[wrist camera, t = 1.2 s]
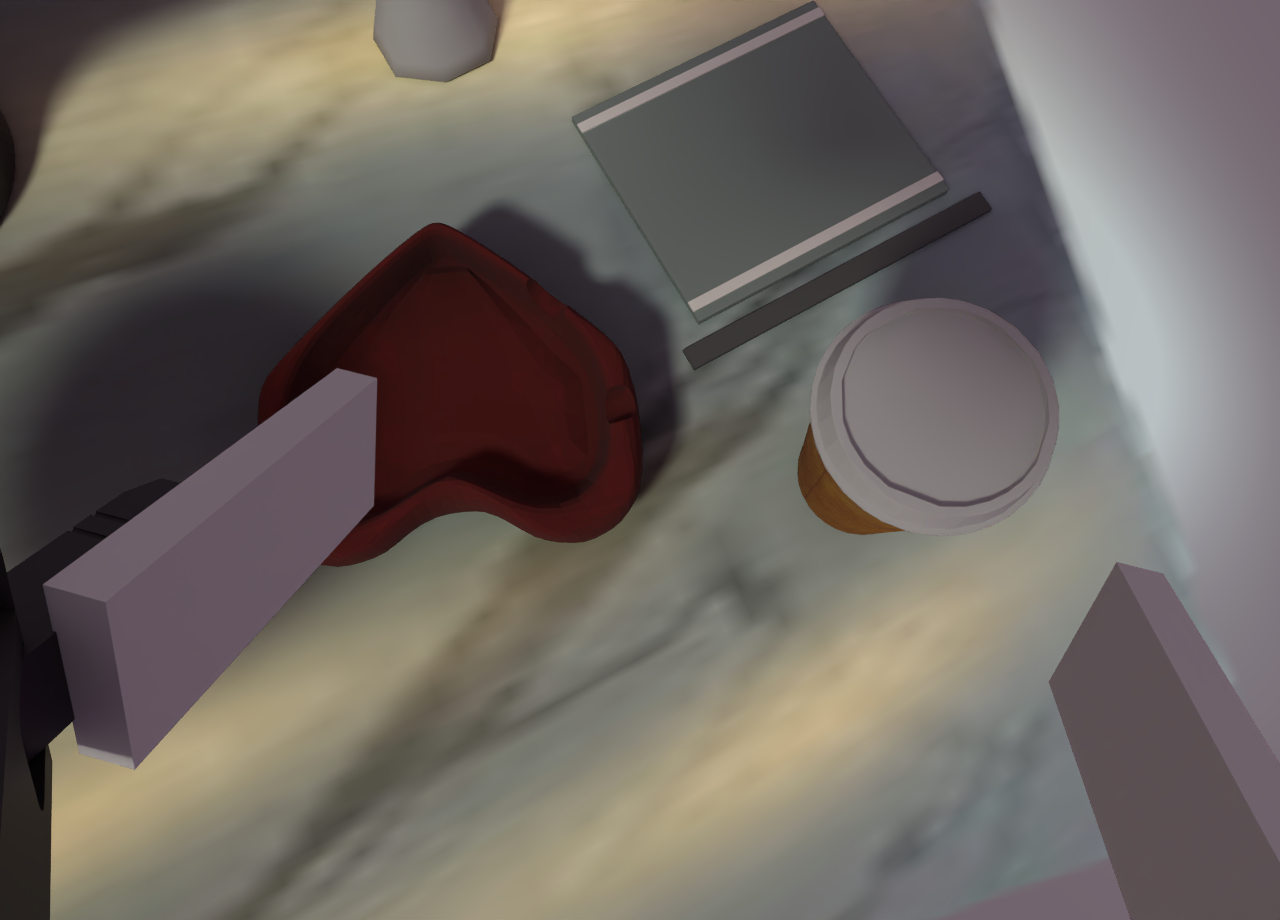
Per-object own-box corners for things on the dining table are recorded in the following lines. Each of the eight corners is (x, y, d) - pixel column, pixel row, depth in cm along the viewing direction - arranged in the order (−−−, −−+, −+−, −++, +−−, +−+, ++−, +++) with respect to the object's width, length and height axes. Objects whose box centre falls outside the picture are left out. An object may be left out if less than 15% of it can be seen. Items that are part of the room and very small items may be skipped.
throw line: (682, 351, 44) (683, 349, 44) (977, 193, 47) (979, 191, 47) (694, 370, 44) (694, 368, 44) (990, 211, 47) (992, 208, 46)
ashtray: (618, 248, 46) (617, 199, 41) (650, 544, 42) (653, 529, 38) (287, 277, 45) (247, 231, 41) (290, 581, 42) (246, 570, 37)
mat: (572, 121, 48) (571, 116, 47) (811, 5, 50) (813, -1, 49) (698, 324, 45) (699, 320, 44) (946, 192, 47) (949, 188, 46)
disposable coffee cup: (945, 387, 44) (1059, 288, 33) (957, 569, 42) (1084, 533, 30) (764, 382, 44) (813, 282, 33) (766, 565, 42) (820, 527, 30)
